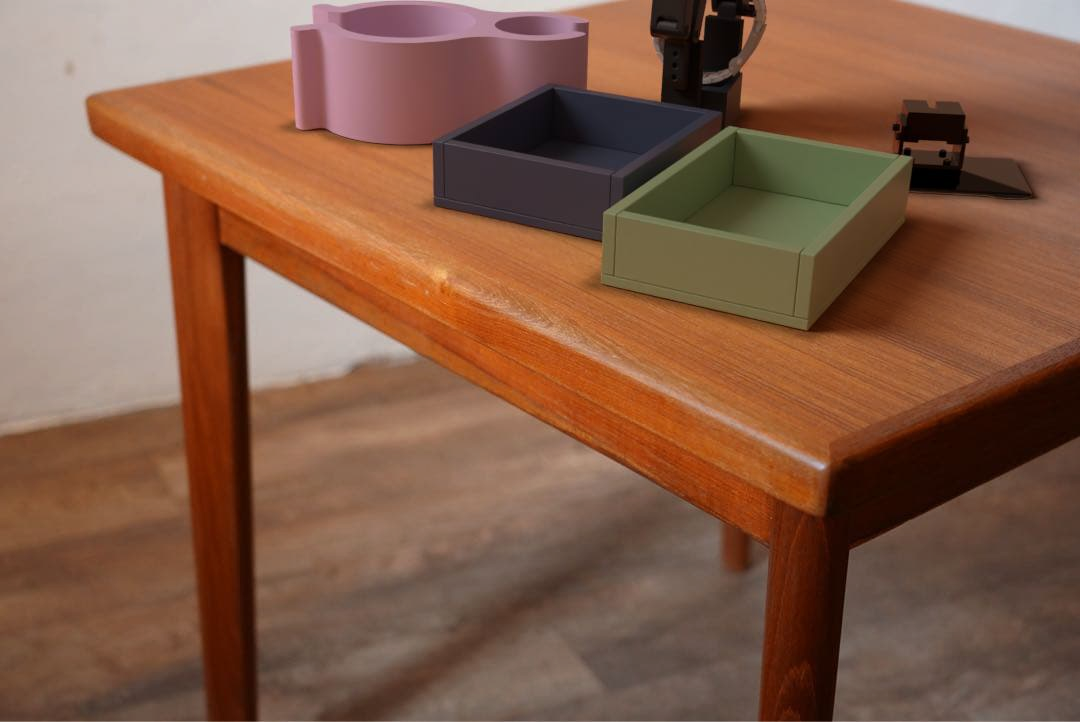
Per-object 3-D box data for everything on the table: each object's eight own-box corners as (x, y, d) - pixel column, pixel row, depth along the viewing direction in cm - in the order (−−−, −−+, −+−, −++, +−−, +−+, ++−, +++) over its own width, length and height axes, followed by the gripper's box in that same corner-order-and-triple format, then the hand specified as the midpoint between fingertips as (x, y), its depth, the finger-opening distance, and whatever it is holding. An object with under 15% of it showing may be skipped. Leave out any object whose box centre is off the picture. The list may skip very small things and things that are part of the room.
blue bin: (718, 173, 94) (722, 111, 92) (620, 245, 82) (623, 177, 80) (547, 141, 99) (548, 82, 97) (433, 205, 87) (432, 140, 86)
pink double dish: (589, 100, 108) (592, 7, 105) (578, 152, 97) (581, 50, 94) (326, 88, 109) (321, -4, 106) (285, 139, 98) (279, 38, 95)
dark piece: (1011, 164, 97) (1024, 96, 94) (1032, 202, 90) (1046, 130, 88) (824, 152, 98) (832, 85, 96) (831, 189, 91) (840, 118, 89)
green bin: (904, 222, 86) (913, 156, 84) (807, 331, 72) (815, 255, 70) (723, 188, 91) (728, 125, 89) (600, 283, 77) (602, 212, 75)
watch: (655, 105, 107) (663, -46, 102) (763, 117, 105) (776, -37, 100) (636, 126, 102) (644, -31, 97) (749, 139, 100) (762, -22, 95)
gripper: (726, -240, 102) (702, 79, 113) (605, -222, 87) (591, 146, 97) (828, -234, 99) (794, 94, 110) (721, -213, 84) (694, 165, 94)
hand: (698, 117), depth 103 cm, fingers open, 6 cm apart
